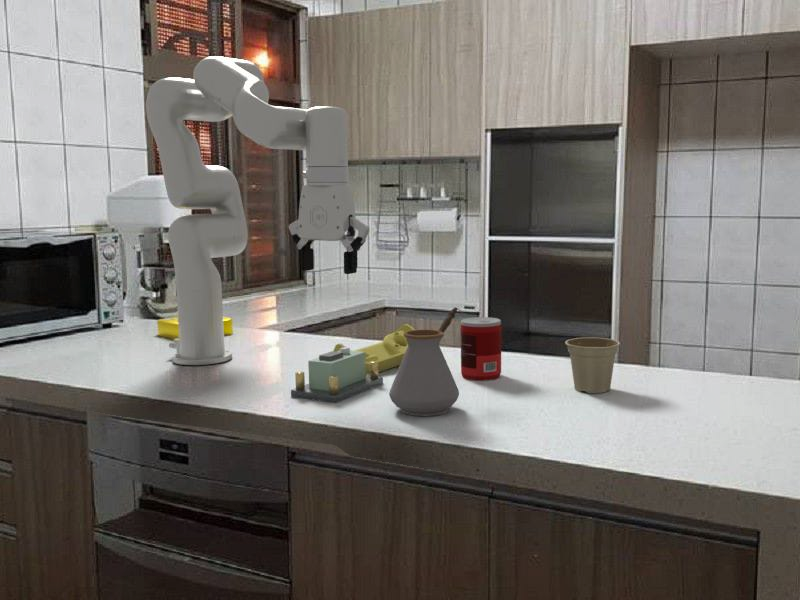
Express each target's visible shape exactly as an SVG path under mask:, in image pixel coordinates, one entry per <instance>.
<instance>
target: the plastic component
mask: <svg viewBox="0 0 800 600" xmlns="http://www.w3.org/2000/svg"><path fill="white" fill-rule="evenodd" d="M412 330H416V329H415V328H414V327H412V326H411V325H409V324H407V323H406V324H403V325H401V326H400V327H398V329H396V331H394V332H392V333H390V334H387V335H386V336H385V337H384V338H383V340H382V341H381V342H377V343H374V344H370V345H368V346H365V347H361V348H358V349H355V350H353V351H361V352H365V360H366V375H367V374H370V364H369V362H370V361H378V373H380V371H381V372H383V371H386V370H388V369H389V370H390V369H392V368H394V367H398V366H400V364H401V362H402V359H403V357H404V354H405V352H406V349H407V347H408V343H407V339H406V337H405V336H404V333H405V332H407V331H412ZM344 347H346V346H345V345H344V344H343V343H337V344H336V345H335V346H334V348H333V352H337V351H340V348H344Z"/></svg>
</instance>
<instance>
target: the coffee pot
mask: <svg viewBox="0 0 800 600" xmlns="http://www.w3.org/2000/svg"><path fill="white" fill-rule="evenodd" d="M458 311H460V313H461V315H459V316H457V315H456V314H457V312H458ZM447 315H448V316H447V317H446V318H444V319H443V321H442V323H441V325H440V327H439V329H438V330H436V329H415V330H412V331H407V332H405V333H404V336H405V337H406V339H407V343H408V347H407V349H406V352H405V354H404V357H403V359H402V362H401V364H400V365H399V367H398V370H397V372H396V375H395V377H394V379H393V382H392V384H391V388H390V389H389V398H390V400H391V402H392V403H393V404H394V405H395V406H396V407H397V408H398V409H400V411H401V412H402V413H403V414H406V415H410V416H418V417H422V416H423V417H431V416H437V415H442V414H444V413H446V412H448V411H449V408H451V407H453V405H455V403H456V402H457V401H458V398H459V396H460V390H459V388H458V386H457V383H456V381H455V378H454V376H453V373H452V372H451V370H450V367H449V365H448V363H447V360H446V358H445V356H444V353H443V351H442V349H441V347H440V342H441V340H442V338H443V337H444V333H445V332H446V330H447V329H448V328H449V327H450V325H451V323H452V320H453V319H454V318H456V319H457V318H461V317H463V311H462V310H461V309H459V308H458V307H455V306H454V307H453V308H452V309H451V310H450V312H448V314H447Z"/></svg>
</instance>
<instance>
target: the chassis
mask: <svg viewBox="0 0 800 600" xmlns="http://www.w3.org/2000/svg"><path fill="white" fill-rule="evenodd" d="M369 364H370V375H366V378H365V379H363V380H360V381H357V382H355V383H352V384H350V385H347V386H345V387H342V388H340V389H338V376H329V391H326V390H319V389H311V388H309V383H307V384H305V381H306V380H305V371H296V372H295V373H294V374H295V375H294V376H295V378H294V379H295V388H293V389H290V397H291V398H292V397H293V398H298V399H306V400H312V399H314V400H315V401H319V400H320V401H319V402H328V403H334V404H336V402H337V403H339V402H342V401H343V399H344V400H346V399H348V397H349V398H350V397H353V396H355V394H356V395H358V394H361V393H363V392H365V391H367V389H368V390H371V389H373V388H375V387H377V385H378V386H380V385H382V384H384V378H383V376H379V372H378V361H370V362H369ZM381 383H382V384H381ZM379 384H380V385H379ZM374 386H375V387H374ZM372 387H373V388H372ZM362 391H363V392H362ZM360 392H361V393H360ZM357 393H358V394H357ZM314 400H313V401H314Z"/></svg>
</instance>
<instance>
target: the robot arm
mask: <svg viewBox="0 0 800 600" xmlns="http://www.w3.org/2000/svg"><path fill="white" fill-rule="evenodd" d="M193 69H194V70H193V74H192V76H193V78H183V77H166V78H161V79H158V80H157V81H155V82H154V83H152V85H151V86H150V87H149V89H148V92H147V96H146V100H145V101H146V102H145V111H146V118H147V121H148V125H149V129H150V130H151V133H152V137H153V138H154V140H155V143H156V146H157V149H158V154H159V160H160V165H161V170H162V176H163V181H164V185H165V191H166V194H167V197H168V200H169V202H170V204H171V205H172V206H173V207H174V208H177V209H180V210H210V211H211V213H201V214H200V213H198V214H196V213H194V214H186V215H181V216H180V217H177V218H175V220H173V222H172V223H171V224H170V226H169V228H168V233H167V235H168V237H167V239H168V244H169V248H170V252H171V257H172V261H173V267H174V275H175V289H176V304H177V317H178V326H179V339H172V341H170V342H169V344H168V347H169V349H175V350H176V353H175V354H174V355H173V356H172V362H173V363H175V364H177V365H182V366H206V365H215V364H219V363H224V362H229V361H230V360H231V359H232V358H233V352H231V351H230V350H226V349H225V335H224V327H223V317H224V313H223V292H222V291H223V290H222V289H223V288H222V278H221V275H220V272H219V270H218V268H217V267H216V266H215V263H214V262H213V261H212V259H214V258H226V257H233V256H237V255H239V254H241V253H243V252H244V250H245V249H246V246H247V244H248V237H249V236H248V235H249V234H248V226H247V220H246V215H245V211H244V205H243V201H242V195H241V191H240V187H239V183H238V180H237V179H236V176H235V174H234V173H233V172H232V171H231V170H230V169H229V168H227V167H224V166H221V165H216V164H215V165H212V164H211V165H208V164H204V162H203V159H202V156H201V155H202V154H201V150H200V146H199V142H198V140H197V138H196V136H195V135H194V134H193V132H192V131H191V130H190V128H188V127H187V125H186V124H185V122H184V120H185V121H186V120H187V121H197V122H210V123H216V122H218V123H219V122H223V121H226V120H228V119H229V118H231V117H232V118H233V122H234V124H235V126H236V128H237V129H238V131H239V132H240V133H241V134H243V135H244V136H245V137H246V138H249V140H251V141H252V142H255V144H257V145H259V146H262V147H263V148H267V149H271V150H294V151H305V167H306V169H305V170H303V171H302V174H301V175H302V178H303V179H306V185H304V184H303V185H302V188H301V193H300V198H299V204H298V205H299V208H298V218H297V219H296V220H294V221H293V222H292V223H290V224H289V225H288V229H289V232H290V235H292V236H291V238H292V241H294V243H295V244H296V247H297V249H298V250H299V255H300V256H299V257H300V258H299V259H300V271H301V272H306V271H312V270H314V268H315V261H314V260H315V258H314V257H315V255H314V253H315V252H314V248H312V245H313V244H314V243H315V241H321V242H322V241H323V242H325V241H326V242H339V241H340V243H341V244H342V246H343V247H344V248H345V250H346V251H344V252H343V273H344V274H345V275H350V274H356V273H357V271H358V269H357V268H358V251H361V247H362V246H363V245H364V244H365V243H366V241H367V240H366V239H367V237H368V236H369V233H370V227H369V226H368V225H367V224H365V223H364V222H362V221H360V220H359V219H357V218H356V207H355V201H354V194H353V189H352V186H351V185H352V184H350V185H349V150H348V149H349V147H348V146H349V144H348V142H349V135H348V132H349V131H348V127H349V126H348V119H349V118H348V113H347V111H346V110H345V109H344V108H341V107H337V106H314V107H310V108H308V109H307V108H305V109H304V108H297V107H296V108H295V107H290V106H289V107H288V106H275V105H271V104H269V100H270V92H269V89H268V86H267V85H266V83H265V78H264V75H263V72H262V70H261V69H260V68H259V66H257V65H256V64H255V63H254V62H251V61H249V60H246V59H245V60H244V59H238V58H233V57H232V58H229V57H226V56H225V57H224V56H216V55H215V56H208V57H205V58H203V59H201V60H200V61H198V63H197V64H196V66H195V67H194V68H193ZM356 231H357V236H356ZM355 236H356V237H355Z"/></svg>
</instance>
